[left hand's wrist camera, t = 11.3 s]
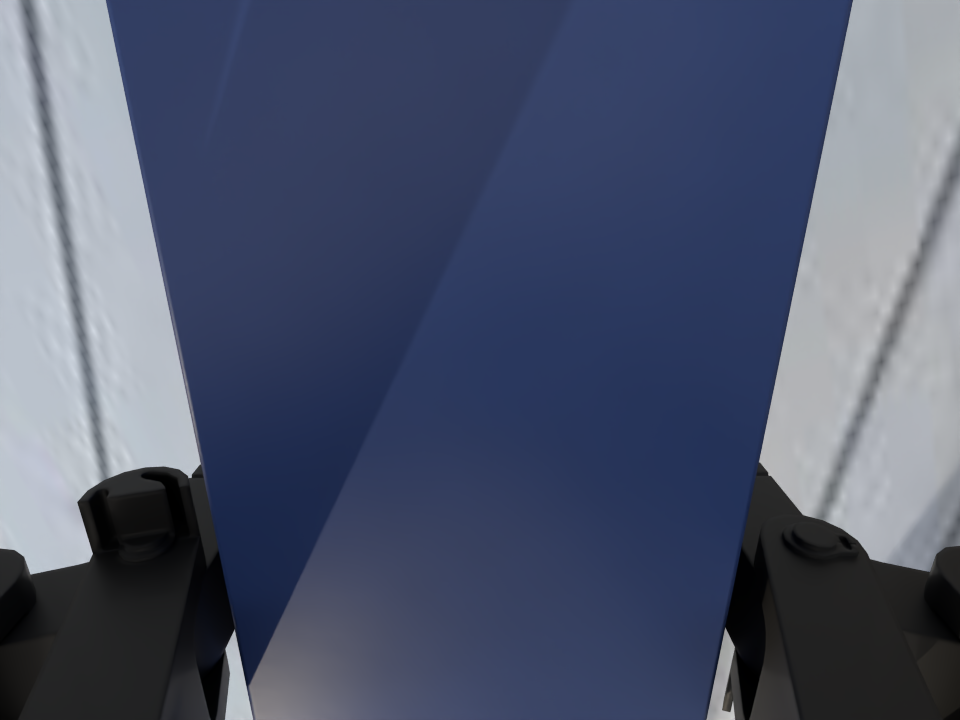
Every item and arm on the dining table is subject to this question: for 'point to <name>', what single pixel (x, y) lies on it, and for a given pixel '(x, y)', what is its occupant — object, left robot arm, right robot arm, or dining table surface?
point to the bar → (479, 330)
